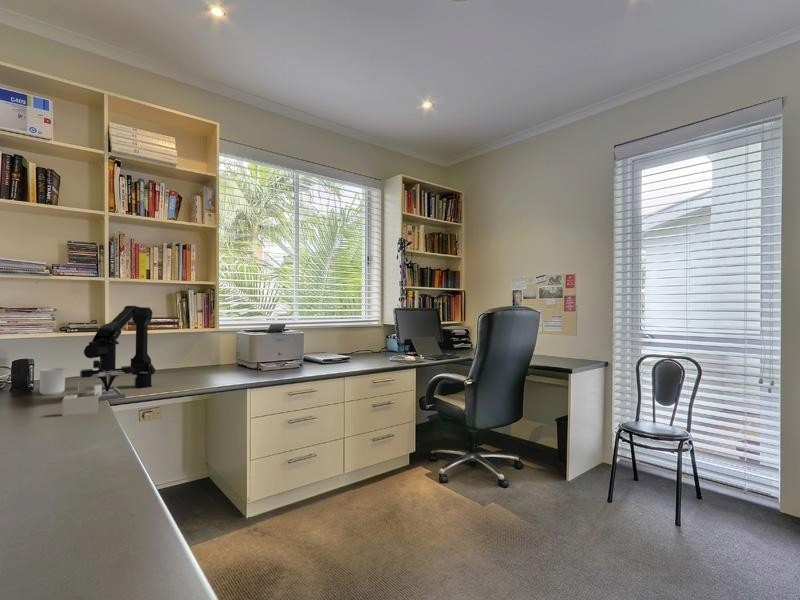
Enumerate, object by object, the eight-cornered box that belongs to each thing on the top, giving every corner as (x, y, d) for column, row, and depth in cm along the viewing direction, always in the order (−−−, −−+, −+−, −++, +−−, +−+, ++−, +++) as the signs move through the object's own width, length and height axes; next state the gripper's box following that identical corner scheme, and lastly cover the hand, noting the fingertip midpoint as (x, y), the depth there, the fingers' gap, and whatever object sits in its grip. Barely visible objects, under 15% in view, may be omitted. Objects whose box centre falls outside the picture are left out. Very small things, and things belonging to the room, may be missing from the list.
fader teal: (100, 393, 180) (100, 382, 180) (101, 395, 177) (101, 384, 177) (93, 394, 178) (93, 383, 178) (94, 396, 176) (94, 384, 176)
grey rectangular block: (84, 391, 184) (84, 380, 184) (85, 392, 182) (85, 382, 182) (77, 392, 183) (77, 381, 183) (78, 393, 180) (78, 382, 180)
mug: (61, 394, 186) (61, 370, 187) (36, 396, 183) (36, 371, 183) (69, 389, 197) (69, 366, 198) (46, 391, 194) (46, 367, 194)
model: (64, 415, 154) (64, 394, 154) (99, 412, 159) (99, 392, 159) (62, 417, 151) (62, 396, 151) (97, 414, 156) (98, 393, 156)
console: (117, 391, 195) (117, 386, 195) (125, 397, 181) (125, 392, 181) (66, 397, 182) (66, 392, 182) (70, 404, 168) (70, 399, 168)
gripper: (129, 352, 193) (128, 385, 192) (78, 355, 180) (77, 391, 180) (134, 354, 185) (133, 389, 184) (81, 357, 172) (81, 395, 171)
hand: (107, 391), depth 180 cm, fingers closed
